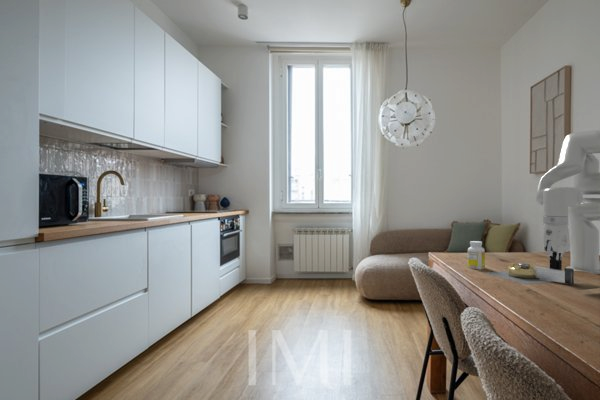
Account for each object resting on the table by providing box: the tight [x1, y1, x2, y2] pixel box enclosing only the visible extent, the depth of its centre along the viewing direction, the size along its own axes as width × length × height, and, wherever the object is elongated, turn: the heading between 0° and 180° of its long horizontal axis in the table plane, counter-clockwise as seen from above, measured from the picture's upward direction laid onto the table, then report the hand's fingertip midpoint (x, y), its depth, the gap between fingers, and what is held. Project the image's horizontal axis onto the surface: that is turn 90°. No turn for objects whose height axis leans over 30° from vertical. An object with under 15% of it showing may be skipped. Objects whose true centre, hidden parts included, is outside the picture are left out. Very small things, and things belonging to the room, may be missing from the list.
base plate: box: [482, 270, 558, 285], centre depth 135 cm, size 20×20×2 cm
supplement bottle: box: [467, 240, 486, 270], centre depth 152 cm, size 7×7×13 cm
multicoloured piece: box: [507, 262, 575, 285], centre depth 130 cm, size 21×10×5 cm, turn 31°
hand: (555, 270), depth 130 cm, fingers closed
